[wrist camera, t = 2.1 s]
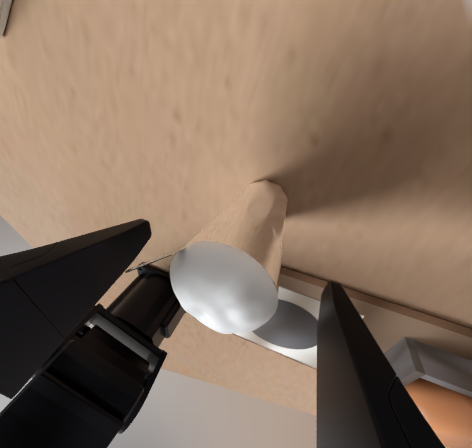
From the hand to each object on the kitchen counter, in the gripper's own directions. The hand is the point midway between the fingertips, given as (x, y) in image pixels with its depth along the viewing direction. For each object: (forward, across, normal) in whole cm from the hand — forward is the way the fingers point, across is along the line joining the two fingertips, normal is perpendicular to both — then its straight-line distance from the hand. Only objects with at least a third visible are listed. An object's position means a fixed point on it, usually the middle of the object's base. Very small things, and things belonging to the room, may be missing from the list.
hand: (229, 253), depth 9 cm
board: (+6, -9, +12) cm, 17 cm away
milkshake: (+6, 0, 0) cm, 6 cm away
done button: (+4, -17, +11) cm, 21 cm away
